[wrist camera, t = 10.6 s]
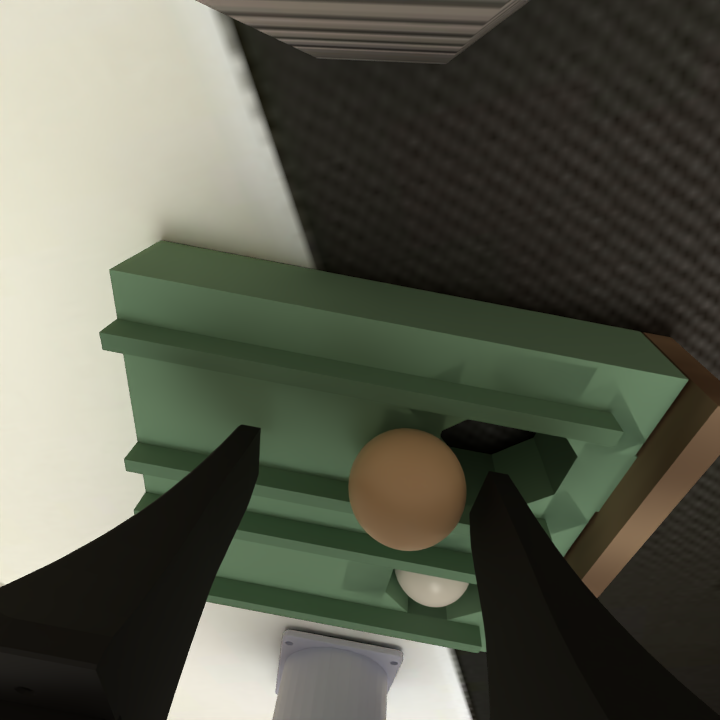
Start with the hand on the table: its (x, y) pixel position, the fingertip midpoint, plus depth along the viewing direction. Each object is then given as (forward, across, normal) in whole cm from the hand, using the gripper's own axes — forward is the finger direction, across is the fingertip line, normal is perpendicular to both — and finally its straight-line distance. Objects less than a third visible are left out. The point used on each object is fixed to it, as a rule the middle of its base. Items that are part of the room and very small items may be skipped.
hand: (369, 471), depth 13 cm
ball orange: (0, -1, 0) cm, 1 cm away
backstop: (+4, -9, +4) cm, 11 cm away
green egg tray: (+4, 0, +4) cm, 6 cm away
